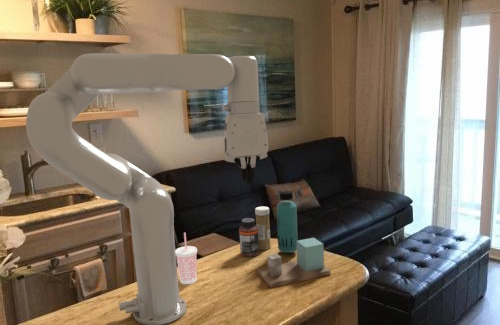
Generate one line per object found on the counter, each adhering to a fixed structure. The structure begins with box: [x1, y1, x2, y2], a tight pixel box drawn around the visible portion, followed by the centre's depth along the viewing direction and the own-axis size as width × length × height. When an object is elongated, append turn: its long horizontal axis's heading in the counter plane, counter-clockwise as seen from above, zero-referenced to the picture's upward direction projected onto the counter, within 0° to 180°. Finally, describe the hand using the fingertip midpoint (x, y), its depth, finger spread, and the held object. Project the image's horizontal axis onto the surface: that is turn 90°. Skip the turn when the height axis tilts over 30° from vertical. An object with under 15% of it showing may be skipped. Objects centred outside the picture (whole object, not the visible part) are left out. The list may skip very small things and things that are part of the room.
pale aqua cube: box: [296, 237, 325, 272], centre depth 125 cm, size 6×6×7 cm
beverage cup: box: [175, 232, 198, 285], centre depth 122 cm, size 6×6×14 cm
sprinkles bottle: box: [254, 206, 272, 251], centre depth 143 cm, size 5×5×14 cm
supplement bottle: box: [238, 217, 260, 258], centre depth 139 cm, size 6×6×11 cm
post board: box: [256, 253, 331, 288], centre depth 124 cm, size 18×10×6 cm, turn 110°
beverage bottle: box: [276, 190, 299, 253], centre depth 137 cm, size 6×7×20 cm
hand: (247, 182), depth 110 cm, fingers closed
